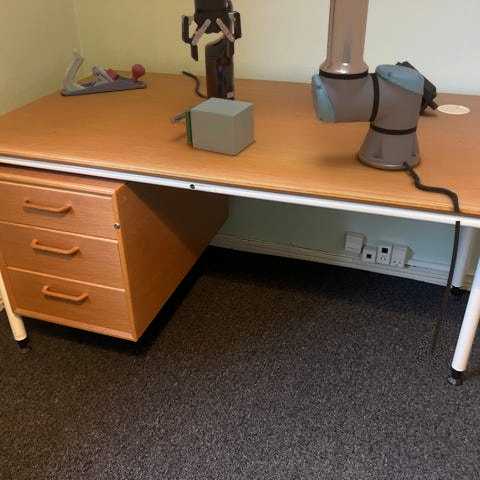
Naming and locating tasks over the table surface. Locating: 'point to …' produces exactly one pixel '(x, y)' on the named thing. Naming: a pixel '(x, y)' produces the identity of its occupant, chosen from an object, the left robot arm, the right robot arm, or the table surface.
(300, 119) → the table surface
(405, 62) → the tool
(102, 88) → the hand plane
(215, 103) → the grey box
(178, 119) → the drawer
